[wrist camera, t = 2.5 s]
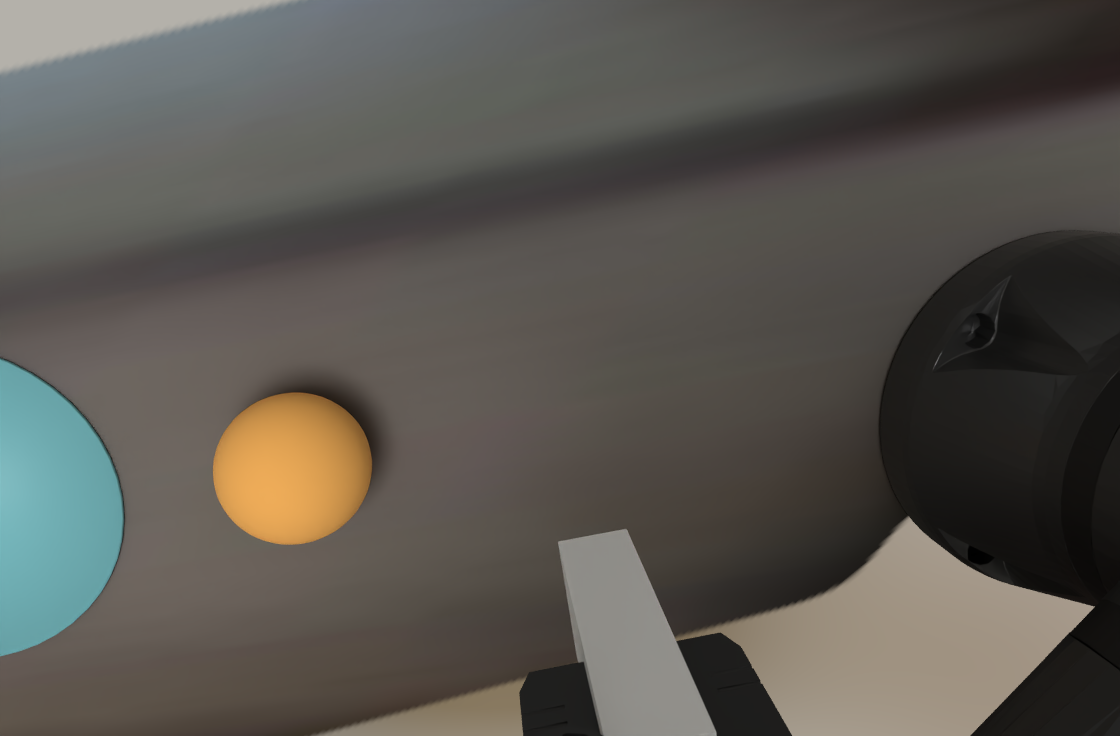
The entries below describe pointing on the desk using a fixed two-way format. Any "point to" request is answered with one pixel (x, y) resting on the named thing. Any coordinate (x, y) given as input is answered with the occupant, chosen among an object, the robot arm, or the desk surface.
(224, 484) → the ball
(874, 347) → the desk surface
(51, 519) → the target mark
